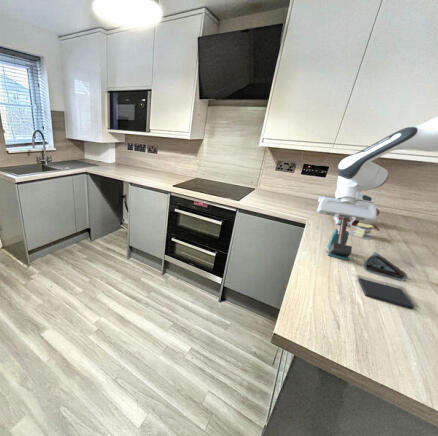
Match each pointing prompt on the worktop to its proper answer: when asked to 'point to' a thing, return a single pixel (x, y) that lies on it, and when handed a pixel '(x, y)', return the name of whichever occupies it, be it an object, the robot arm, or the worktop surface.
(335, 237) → the rest
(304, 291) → the worktop surface
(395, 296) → the mat
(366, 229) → the stacked layers on plate
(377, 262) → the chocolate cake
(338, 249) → the mallet
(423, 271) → the worktop surface
